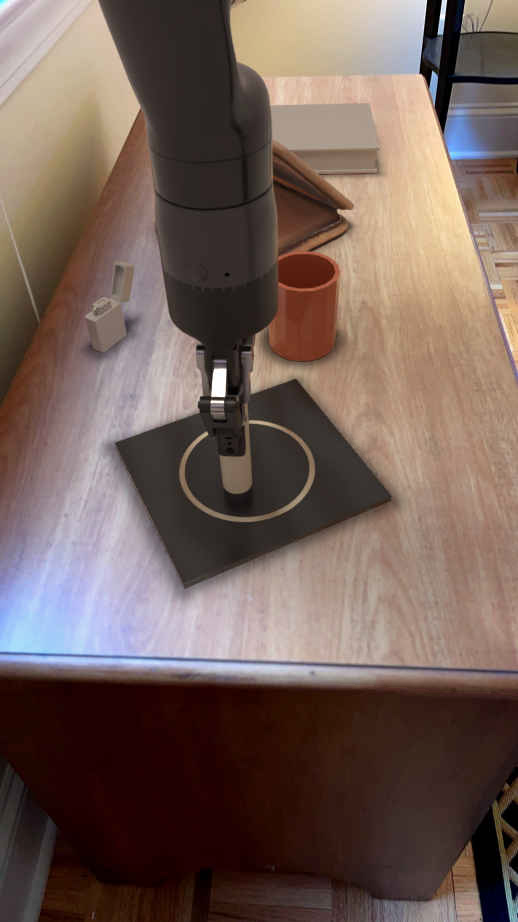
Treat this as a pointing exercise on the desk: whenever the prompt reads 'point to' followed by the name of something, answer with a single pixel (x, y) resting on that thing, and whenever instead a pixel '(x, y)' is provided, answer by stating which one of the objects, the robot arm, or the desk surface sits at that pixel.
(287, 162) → the case
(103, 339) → the lighter
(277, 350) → the pen cup
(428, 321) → the desk surface
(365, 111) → the book
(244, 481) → the cylinder
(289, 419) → the black flat square pad
